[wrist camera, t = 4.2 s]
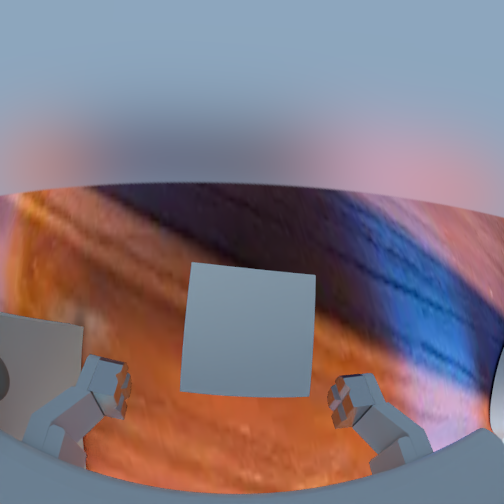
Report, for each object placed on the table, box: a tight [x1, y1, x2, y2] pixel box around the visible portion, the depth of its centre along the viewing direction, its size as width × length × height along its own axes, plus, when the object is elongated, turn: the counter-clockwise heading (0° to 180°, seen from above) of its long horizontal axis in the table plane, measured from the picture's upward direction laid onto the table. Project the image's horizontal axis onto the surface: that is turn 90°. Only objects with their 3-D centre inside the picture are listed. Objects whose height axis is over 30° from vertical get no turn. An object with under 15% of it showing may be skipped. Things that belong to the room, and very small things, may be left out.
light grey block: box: [180, 262, 316, 397], centre depth 12 cm, size 4×4×9 cm
